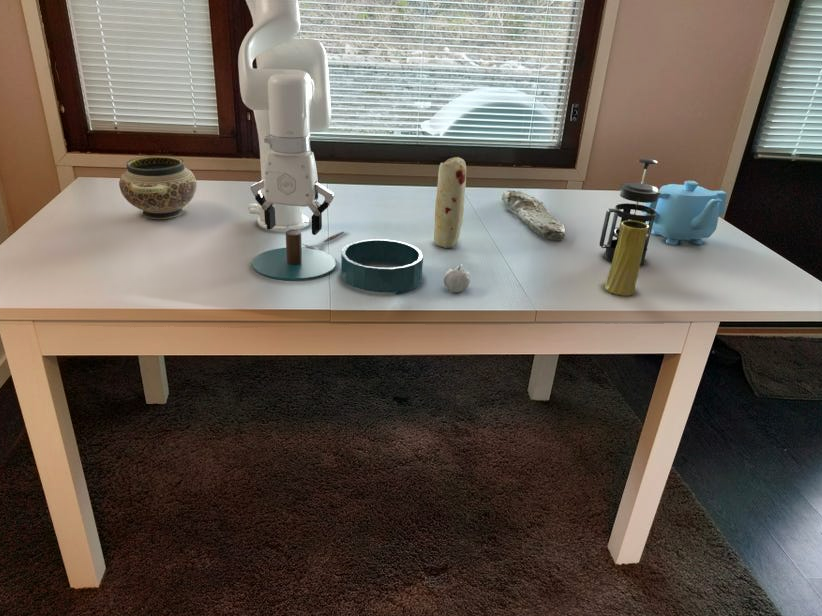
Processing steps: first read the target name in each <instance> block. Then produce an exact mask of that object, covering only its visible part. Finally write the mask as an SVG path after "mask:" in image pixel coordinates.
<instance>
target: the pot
mask: <svg viewBox="0 0 822 616" xmlns="http://www.w3.org/2000/svg"><path fill="white" fill-rule="evenodd" d="M340 253H341V254H340V269H341V270H340V275H341V276H340V277H341V279H342V281H344V283H345V284H347V285H349V286H350V287H352V288H355V289H358V290H360V291H361V290H362V291H364V292H365V291H366V292H372V293H395V295H400V294H405V293H408V292H411V291H413V290H415V289H416V288H418V287H419V286H420V285H421V282H422V279H423V266H424V254H423V251H422V250H421V249H419V247H417V246H415V245H412V244H410V243H407V242H404V241H399V240H393V239H392V240H391V239H384V238H383V239H379V238H376V239H375V238H374V239H373V238H372V239H371V238H370V239H363V240H359V241H354V242H351V243H349V244H347V245H345V246H344V247H342V249H341V251H340ZM368 263H369V264H370V263H388V264H394V265H397V266H393V267H377V266H368V265H366V264H368ZM364 264H365V265H364Z"/></svg>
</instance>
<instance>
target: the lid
mask: <svg viewBox="0 0 822 616" xmlns="http://www.w3.org/2000/svg"><path fill="white" fill-rule="evenodd" d="M251 261H252V262H251V267H252V269H253V271H254V272H256V273H257V274H258V275H261V276H263V277H265V278H267V279H268V278H269V279H272V280H278V281H288V282H289V281H290V282H298V281H300V282H301V281H310V280H314V279H319V278H322V277H324V276H327V275H329V274H330V273H333V271H334V270H335V269H336V267H337V261H336V259H335V257H334V256H332V255H331V254H329V253H328V252H326V251H323V250H319V249H317V248H316V249H313V248H309V247H303V243H302V232H301V231H300V230H299V229H297V230H289V231H285V247H279V248H273V249H270V250H269V249H268V250H266V251H264V252H261V253H259V254H257V255H256V256H255V257H254V258H253V259H252V260H251Z"/></svg>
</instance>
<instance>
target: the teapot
mask: <svg viewBox="0 0 822 616" xmlns="http://www.w3.org/2000/svg"><path fill="white" fill-rule="evenodd" d="M683 183H684V184H676V183H669V184H665V185H662V186H661V187H659V188H660V189H662V193H661V194H659V196H658V199H657V201H655V202H652V203H644V206H647V207H650V208H653V209H654V210H656V212H657V213H656V217H655V219H654V222H653V226H652V230H651V234H652V235H656V236H662V237H664V238H666V240H665V243H666V244H669V245H673V246H676V245H679V240H689V241H690V243H692V244H695V245H702V244H703V241H702V239H707V238H710V237H711V236H712V235H713V234H714V233H715V231H716V230H717V227H718V222H719V217H721V216H722V215H724V214H725V210H726V202H727V196H728V192H726V191H724V190H709V189H707V188H705V187H703V186H700V185H699V183H698V182H697V181H694V180H685V181H684V182H683ZM641 213H642V214H644V215H651V214H649V213H647V212H643V211H641ZM646 224H647V225H648V224H649V221H646Z"/></svg>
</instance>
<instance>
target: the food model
mask: <svg viewBox="0 0 822 616" xmlns="http://www.w3.org/2000/svg"><path fill="white" fill-rule="evenodd" d="M466 183H467V164H466V161H465V160H464V159H463V158H461V157H459V156H455V157H450V158H448V159H447V160H445V161H444V162H440V164H439V167H438V175H437V185H436V193H435V194H436V195H435V196H436V197H435V204H434V205H435V206H434V223H433V224H434V225H433V226H434V227H433V241H434V244H435V245H436V246H438V247H441V248H444V249H449V248H453V247H454V246H456V244H457V243H458V241H459V238H460V234H461V228H462V224H463V220H464V212H465V211H464V210H465V197H466V196H465V195H466V185H467V184H466Z"/></svg>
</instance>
